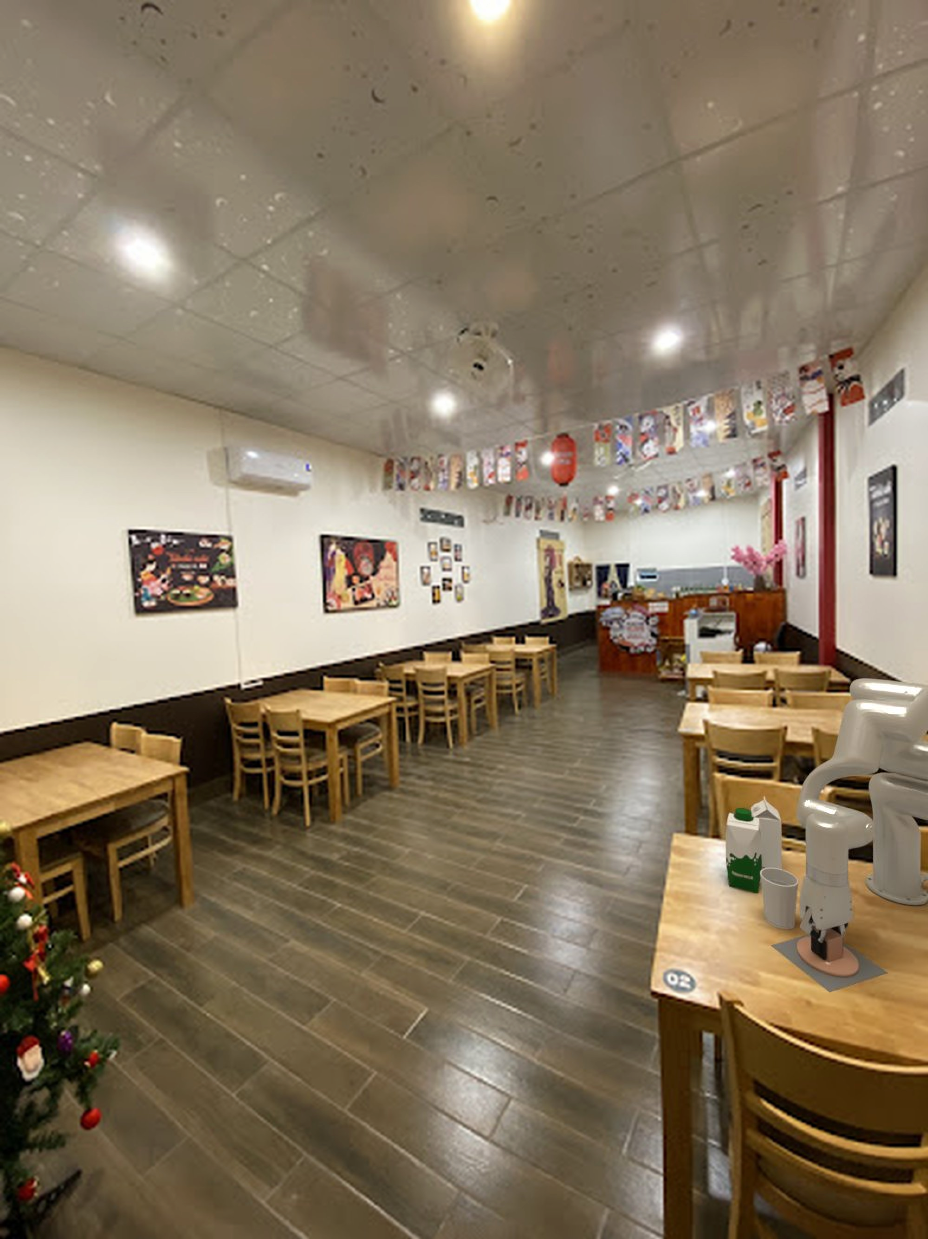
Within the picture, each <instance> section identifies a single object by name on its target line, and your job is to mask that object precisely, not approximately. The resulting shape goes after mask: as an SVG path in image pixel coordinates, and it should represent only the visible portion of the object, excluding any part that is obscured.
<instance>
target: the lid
mask: <svg viewBox="0 0 928 1239" xmlns="http://www.w3.org/2000/svg"><path fill="white" fill-rule="evenodd" d="M815 931H816V932H817V933H818V934H819V930H818V929H816V928H815ZM824 941H825V942H826V943H827V959H825V960H823V959H822V958H820V957H819V956H818V955H816V954H815V953H814V952H812V950H811V937H804V938H801V939H800V940H799V941H798V942H797V952H798V954H799V956H800V957H801V959H802V960H803V961H804V962H805V963H807V964H808V965H809V966H811V967H812V968H814V969H816V970H818V971H820V972H822V973H825V974H828V975H831V976H835V977H852V976H854V975H856V974H857V973H858V969H859V964H858V960H857V958H856V957H855V956H854V954H853V953H852V952H850V951H849V950H848V949H847V948H845V947H844V946H843V942H844V936H842V935H840V934H839V933H837V932H836V931H834V930H833V929H831V928H829V929H826V931H825V939H824Z"/></svg>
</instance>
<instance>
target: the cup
mask: <svg viewBox="0 0 928 1239" xmlns="http://www.w3.org/2000/svg"><path fill="white" fill-rule="evenodd" d="M760 877H761V879H760V886H761V891H762V901H763V902H762V903H763V912H764V915H763V916H764V920H765V921H766V922H767V923H768V924H769V925H771V926H773V927H775V928H778V929H781V930H791V929H793V928H795V924H796V922H795V921H796V912H797V911H796V910H797V898H798V891H799V878H797V876H796V875H794V873H791V872H790V871H787V870H785V869H783V868H782V869H778V868H762V870H761V871H760Z"/></svg>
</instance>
